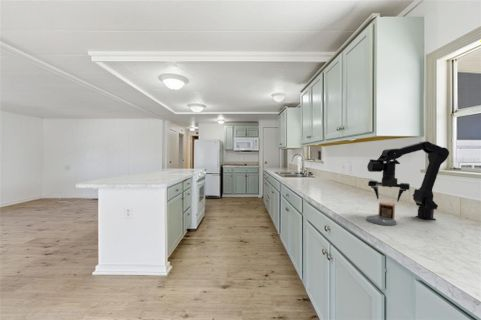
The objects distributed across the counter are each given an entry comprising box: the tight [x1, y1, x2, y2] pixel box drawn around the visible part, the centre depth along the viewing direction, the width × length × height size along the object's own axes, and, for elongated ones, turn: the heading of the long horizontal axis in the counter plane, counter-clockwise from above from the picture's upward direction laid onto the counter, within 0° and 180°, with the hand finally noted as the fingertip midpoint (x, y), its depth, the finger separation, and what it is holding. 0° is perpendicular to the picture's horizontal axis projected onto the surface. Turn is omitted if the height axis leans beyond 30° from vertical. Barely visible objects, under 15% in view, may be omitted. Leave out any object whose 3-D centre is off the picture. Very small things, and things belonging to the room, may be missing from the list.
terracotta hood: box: [377, 200, 396, 220], centre depth 125 cm, size 7×7×8 cm
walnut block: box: [381, 207, 393, 219], centre depth 125 cm, size 4×4×5 cm
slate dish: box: [365, 215, 397, 227], centre depth 116 cm, size 13×13×1 cm
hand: (387, 200), depth 125 cm, fingers open, 9 cm apart
